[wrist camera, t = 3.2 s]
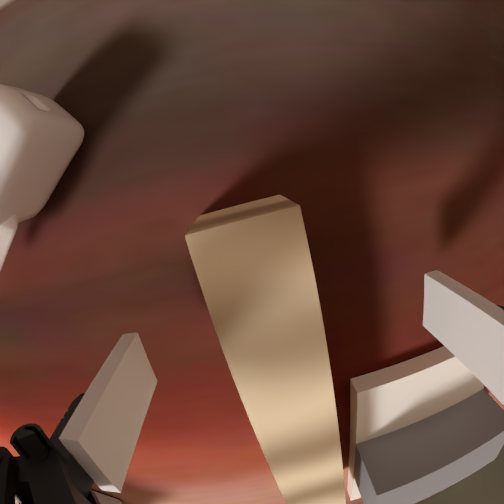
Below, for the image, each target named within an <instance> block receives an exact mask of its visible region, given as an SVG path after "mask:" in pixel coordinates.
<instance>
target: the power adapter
mask: <svg viewBox="0 0 504 504" xmlns="http://www.w3.org/2000/svg"><path fill="white" fill-rule="evenodd" d="M83 138H84V129H83V127H82V125H81V124H80V123H79V122H78V121H77V120H76V119H75V118H74V117H73V116H71V115H70V114H69V113H68V112H67V111H66V110H64V109H63V108H62V107H61V106H60V105H58V104H57V103H56V102H54V101H53V100H51V99H49V98H47V97H45V96H42V95H39V94H36V93H33V92H29V91H26V90H23V89H19V88H15V87H12V86H6V85H0V272H1V269H2V266H3V264H4V261H5V258H6V256H7V253H8V250H9V248H10V245H11V243H12V240H13V238H14V236H15V233H16V230H17V227H18V223H19V222H21V221H24V220H27V219H30V218H32V217H34V216H36V215H37V213H38V212H39V211H40V210H41V209H42V208H43V207H44V206H45V204H46V202H47V201H48V199H49V198H50V196H51V194H52V192H53V191H54V189H55V187H56V185H57V184H58V182H59V180H60V178H61V177H62V175H63V173H64V172H65V170H66V168H67V167H68V165H69V164H70V162H71V160H72V159H73V157H74V155H75V154H76V152H77V150H78V149H79V147H80V145H81V144H82V142H83Z"/></svg>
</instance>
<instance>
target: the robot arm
mask: <svg viewBox="0 0 504 504" xmlns="http://www.w3.org/2000/svg"><path fill="white" fill-rule="evenodd" d="M423 326H424V327H425V328H426V329H427V330H428V331H429V332H430V333H431V334H432V335H434V336H435V337H436V338H437V339H438V340H439V341H440V342H441V343H442V344H443V345H444V346H445V347H446V348H447V349H448V350H449V351H450V352H451V353H452V354H453V355H455V356H456V357H457V358H458V359H459V360H460V361H461V362H462V363H463V364H464V365H465V366H466V367H467V368H468V369H469V370H470V371H471V372H472V373H473V374H474V375H475V376H476V377H477V378H478V379H479V380H480V381H481V382H482V383H483V384H484V385H485V386H486V387H487V388H488V389H489V390H490V391H491V392H492V394H493V395H494V396H495V397H496V398H497V399H498V400H499V401H500V402H501V403H502V404H503V405H504V307H502V306H499V305H495V304H494V303H492V302H490V301H489V300H487V299H485V298H484V297H482V296H481V295H479V294H477V293H476V292H474V291H472V290H471V289H469V288H467V287H466V286H464V285H462V284H460V283H459V282H457V281H455V280H454V279H452V278H450V277H448V276H447V275H445V274H443V273H441V272H440V271H438V270H436V271H432V272H429V273H425V280H424V314H423ZM156 384H157V379H156V377H155V375H154V372H153V370H152V368H151V365H150V363H149V360H148V358H147V356H146V353H145V351H144V348H143V345H142V343H141V340H140V338H139V335H138V333H130V334H123V335H122V336H121V338H120V339H119V341H118V342H117V344H116V345H115V347H114V348H113V350H112V352H111V353H110V355H109V356H108V358H107V359H106V361H105V362H104V364H103V366H102V367H101V369H100V370H99V372H98V373H97V375H96V377H95V378H94V380H93V381H92V383H91V385H90V386H89V388H88V390H87V391H86V393H82V394H80V395H79V396H78V397H77V398H76V399H75V400H74V401H73V402H72V403H71V405H70V406H69V408H68V410H67V411H68V412H66V413H65V415H64V416H63V419H61V421H60V423H59V424H58V426H57V428H56V429H55V431H54V433H53V434H52V436H51V438H50V440H49V438H48V437H47V436H46V434H45V433H44V432H43V430H42V429H41V427H40V426H39V425H37V424H26V425H23V426H21V427H20V428H18V429H17V430H16V431H15V432H14V433H13V435H12V437H11V440H10V443H11V445H12V446H13V447H14V449H15V450H16V451H17V452H18V453H19V455H20V456H17V457H13V455H12V454H11V453H10V452H9V451H8V449H7V448H5V447H0V504H15V499H16V500H17V501H18V502H19V504H100V502H99V500H98V498H97V496H96V494H95V493H94V492H93V490H92V489H91V486H92V484H93V481H94V482H95V483H96V484H97V485H98V487H99V488H100V489H101V490H103V491H110V492H118V493H121V491H122V487H123V484H124V481H125V477H126V474H127V471H128V468H129V465H130V461H131V458H132V455H133V452H134V449H135V446H136V443H137V440H138V437H139V434H140V431H141V428H142V425H143V422H144V419H145V416H146V413H147V410H148V407H149V404H150V401H151V398H152V395H153V392H154V390H155V387H156Z"/></svg>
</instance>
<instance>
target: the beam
mask: <svg viewBox="0 0 504 504" xmlns="http://www.w3.org/2000/svg"><path fill="white" fill-rule="evenodd" d="M185 239H186V242H187V245H188V248H189V252H190V255H191V258H192V261H193V264H194V267H195V270H196V274H197V277H198V280H199V283H200V286H201V289H202V292H203V295H204V298H205V301H206V304H207V307H208V310H209V313H210V315H211V318H212V321H213V324H214V327H215V330H216V333H217V335H218V338H219V341H220V344H221V347H222V349H223V352H224V355H225V357H226V360H227V363H228V366H229V368H230V371H231V374H232V376H233V379H234V381H235V384H236V387H237V389H238V392H239V394H240V397H241V399H242V402H243V404H244V407H245V409H246V412H247V414H248V417H249V419H250V422H251V424H252V427H253V429H254V431H255V434H256V436H257V439H258V441H259V443H260V446H261V448H262V450H263V453H264V455H265V457H266V460H267V462H268V464H269V466H270V469H271V471H272V473H273V475H274V478H275V480H276V482H277V484H278V486H279V489H280V491H281V493H282V495H283V497H284V499H285V502H286V504H346V500H345V487H344V475H343V465H342V455H341V445H340V436H339V427H338V419H337V411H336V404H335V396H334V389H333V382H332V375H331V368H330V361H329V355H328V349H327V342H326V336H325V330H324V324H323V319H322V313H321V307H320V302H319V296H318V291H317V286H316V280H315V275H314V270H313V265H312V260H311V255H310V250H309V245H308V241H307V236H306V231H305V227H304V222H303V217H302V213H301V208H300V205H298V204H296V203H294V202H293V201H291V200H289V199H287V198H285V197H283V196H282V195H276V196H272V197H267V198H264V199H260V200H256V201H252V202H248V203H244V204H240V205H236V206H233V207H229V208H225V209H221V210H218V211H214V212H210V213H207V214H203V215H200V216H199V217H198V218H197V220H196V221H195V222H194V224H193V225H192V226H191V228H190V229H189V230H188V232H187V233H186V234H185Z"/></svg>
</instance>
